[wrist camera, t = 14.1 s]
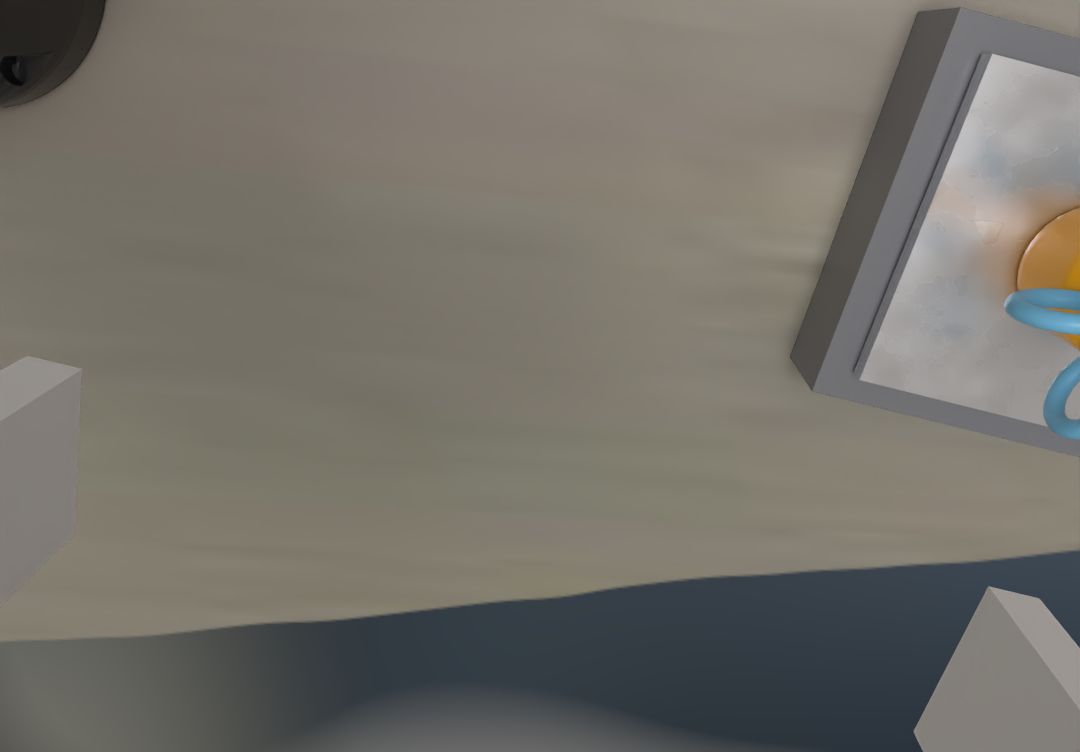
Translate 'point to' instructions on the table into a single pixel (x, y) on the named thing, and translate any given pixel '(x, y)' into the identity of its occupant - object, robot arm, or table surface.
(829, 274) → the base
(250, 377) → the table surface
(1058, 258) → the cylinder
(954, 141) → the pan
